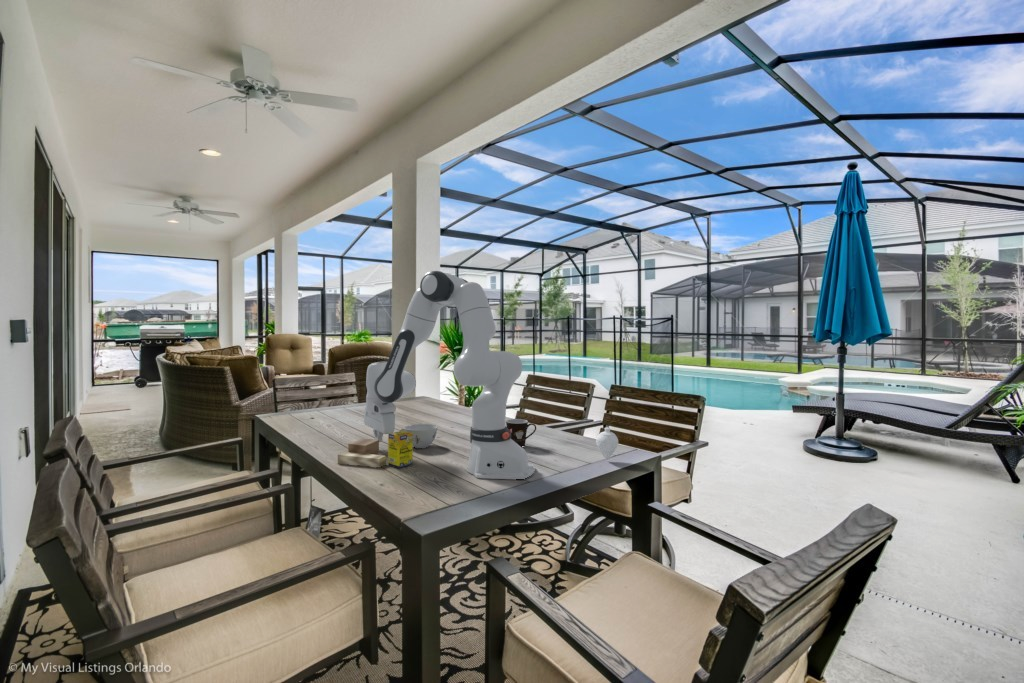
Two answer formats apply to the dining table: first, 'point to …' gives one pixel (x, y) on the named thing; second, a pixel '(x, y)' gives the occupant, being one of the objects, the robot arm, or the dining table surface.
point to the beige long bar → (361, 459)
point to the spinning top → (607, 442)
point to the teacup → (422, 434)
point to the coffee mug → (519, 430)
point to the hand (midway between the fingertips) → (378, 441)
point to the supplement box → (400, 449)
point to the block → (364, 446)
